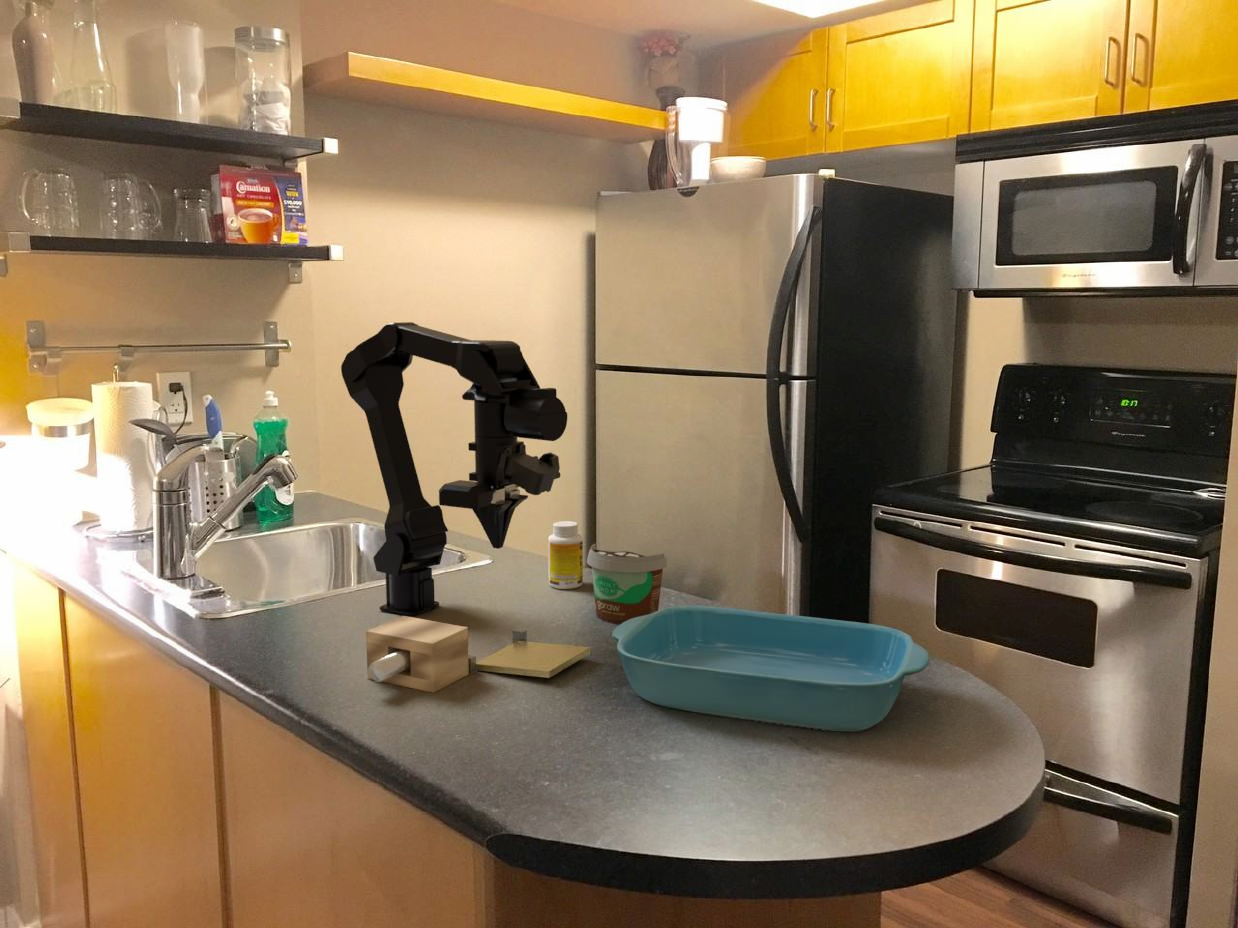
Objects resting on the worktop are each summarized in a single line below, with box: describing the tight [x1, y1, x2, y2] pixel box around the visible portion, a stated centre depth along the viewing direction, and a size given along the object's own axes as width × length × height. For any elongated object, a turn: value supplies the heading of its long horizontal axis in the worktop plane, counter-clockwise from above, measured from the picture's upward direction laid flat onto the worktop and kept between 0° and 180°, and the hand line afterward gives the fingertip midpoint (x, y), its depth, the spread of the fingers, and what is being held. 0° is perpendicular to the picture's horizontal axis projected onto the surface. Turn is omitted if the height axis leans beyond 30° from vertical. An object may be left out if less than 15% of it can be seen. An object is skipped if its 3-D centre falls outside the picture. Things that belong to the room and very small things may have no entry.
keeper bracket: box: [468, 628, 528, 675], centre depth 136 cm, size 2×13×2 cm, turn 152°
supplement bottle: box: [547, 520, 584, 590], centre depth 169 cm, size 6×6×10 cm
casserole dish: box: [611, 605, 930, 732], centre depth 124 cm, size 37×22×7 cm, turn 69°
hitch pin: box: [369, 649, 411, 683], centre depth 128 cm, size 4×13×4 cm, turn 152°
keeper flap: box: [476, 641, 591, 679], centre depth 133 cm, size 11×10×1 cm
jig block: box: [365, 615, 470, 694], centre depth 129 cm, size 10×7×6 cm
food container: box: [586, 543, 668, 625], centre depth 151 cm, size 12×6×10 cm, turn 62°
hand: (497, 547), depth 144 cm, fingers closed
